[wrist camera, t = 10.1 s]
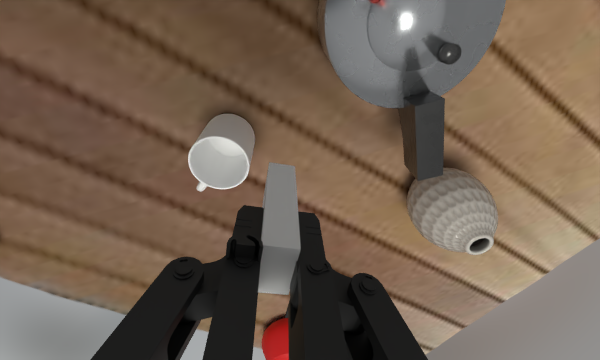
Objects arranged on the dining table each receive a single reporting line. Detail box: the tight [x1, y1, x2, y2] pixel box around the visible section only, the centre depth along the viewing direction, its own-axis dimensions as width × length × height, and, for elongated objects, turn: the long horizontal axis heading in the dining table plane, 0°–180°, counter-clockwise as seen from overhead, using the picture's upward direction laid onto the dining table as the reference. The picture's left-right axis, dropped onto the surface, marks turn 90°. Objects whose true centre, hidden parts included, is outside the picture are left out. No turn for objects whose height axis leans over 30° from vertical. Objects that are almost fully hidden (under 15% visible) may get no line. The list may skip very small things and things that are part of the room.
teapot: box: [262, 318, 289, 360], centre depth 73 cm, size 25×16×12 cm, turn 156°
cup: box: [188, 114, 255, 191], centre depth 43 cm, size 8×12×10 cm
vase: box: [407, 167, 498, 255], centre depth 47 cm, size 13×13×17 cm
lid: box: [323, 0, 506, 181], centre depth 29 cm, size 31×19×5 cm, turn 14°
